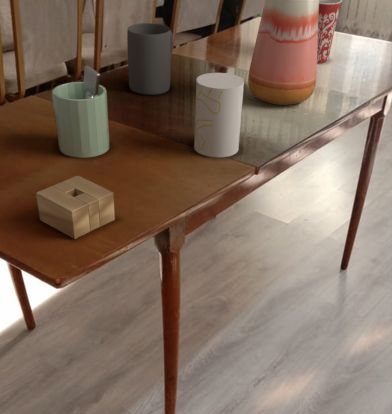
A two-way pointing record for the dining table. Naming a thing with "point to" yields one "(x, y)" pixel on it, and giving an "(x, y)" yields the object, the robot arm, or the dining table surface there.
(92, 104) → the mint green mug
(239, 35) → the dining table surface
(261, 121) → the dining table surface
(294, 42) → the vase
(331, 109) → the dining table surface
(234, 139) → the white cylinder
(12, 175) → the dining table surface
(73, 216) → the spoon stand
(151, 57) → the mug
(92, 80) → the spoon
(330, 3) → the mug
